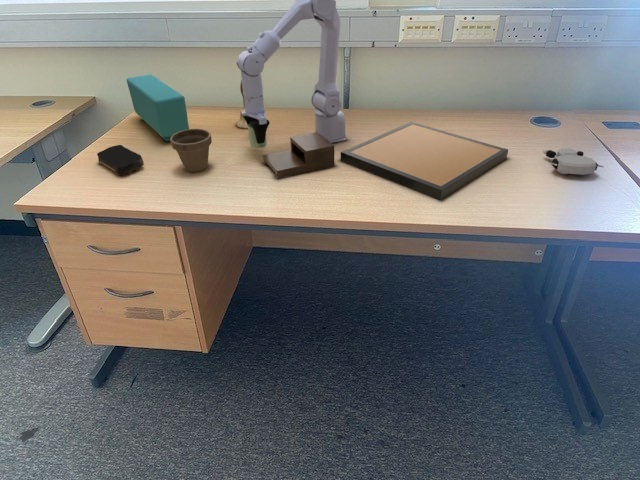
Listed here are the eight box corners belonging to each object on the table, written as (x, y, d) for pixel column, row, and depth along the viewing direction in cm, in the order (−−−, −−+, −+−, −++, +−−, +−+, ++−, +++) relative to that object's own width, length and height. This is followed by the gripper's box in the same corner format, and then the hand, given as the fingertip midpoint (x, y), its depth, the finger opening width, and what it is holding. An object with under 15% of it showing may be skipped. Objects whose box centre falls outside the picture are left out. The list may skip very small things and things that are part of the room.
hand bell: (232, 125, 165) (226, 80, 156) (249, 118, 170) (244, 75, 161) (247, 130, 161) (242, 84, 152) (264, 123, 166) (260, 78, 157)
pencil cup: (263, 140, 145) (261, 120, 141) (269, 146, 141) (267, 126, 137) (248, 143, 143) (245, 123, 139) (253, 149, 139) (251, 129, 135)
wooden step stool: (317, 151, 144) (317, 131, 140) (334, 166, 135) (334, 145, 131) (263, 163, 138) (261, 142, 134) (277, 179, 129) (275, 157, 125)
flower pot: (202, 178, 130) (196, 145, 124) (168, 173, 133) (161, 140, 128) (223, 162, 139) (218, 130, 133) (191, 157, 142) (185, 126, 136)
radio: (195, 139, 154) (187, 95, 146) (165, 146, 150) (155, 101, 141) (162, 112, 178) (154, 73, 169) (135, 118, 173) (125, 77, 165)
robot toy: (538, 159, 138) (553, 178, 125) (542, 145, 136) (557, 162, 123) (581, 161, 137) (600, 180, 124) (585, 146, 134) (605, 164, 122)
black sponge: (147, 168, 136) (145, 157, 134) (120, 178, 131) (117, 166, 129) (122, 154, 146) (119, 143, 143) (96, 162, 141) (92, 151, 139)
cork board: (506, 158, 138) (410, 129, 159) (508, 149, 136) (411, 121, 157) (440, 200, 117) (340, 160, 138) (442, 190, 116) (340, 152, 137)
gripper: (233, 91, 137) (238, 134, 145) (247, 104, 126) (252, 150, 134) (255, 87, 140) (259, 130, 147) (271, 100, 129) (275, 146, 137)
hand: (257, 139), depth 141 cm, fingers closed on pencil cup, 5 cm apart
